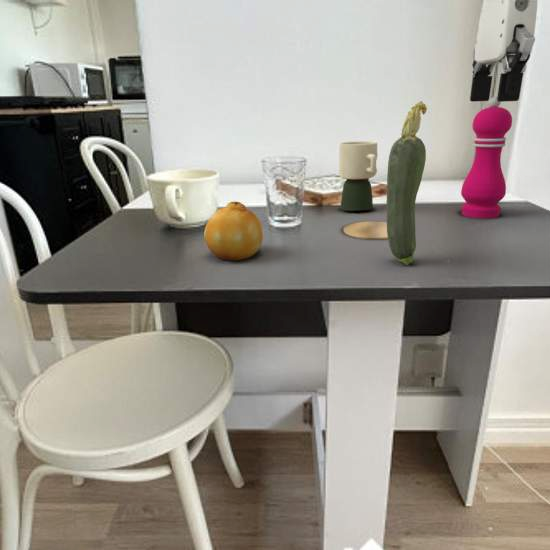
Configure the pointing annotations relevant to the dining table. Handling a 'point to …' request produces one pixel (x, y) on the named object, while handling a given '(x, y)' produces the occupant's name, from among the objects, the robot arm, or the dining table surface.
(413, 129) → the vegetable
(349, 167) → the character mug
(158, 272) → the dining table surface
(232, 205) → the fruit
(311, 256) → the dining table surface
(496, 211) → the pepper mill
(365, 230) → the coaster
